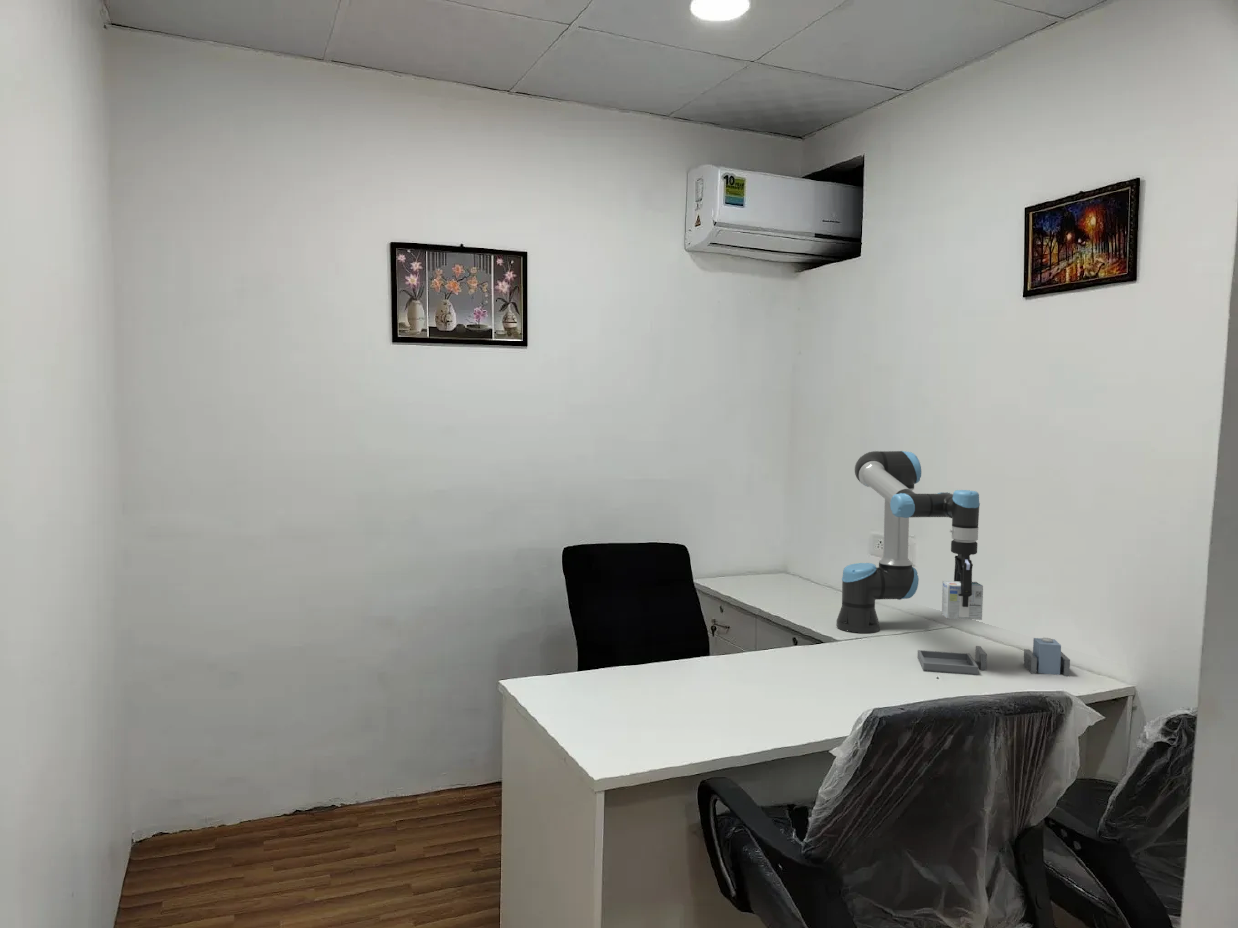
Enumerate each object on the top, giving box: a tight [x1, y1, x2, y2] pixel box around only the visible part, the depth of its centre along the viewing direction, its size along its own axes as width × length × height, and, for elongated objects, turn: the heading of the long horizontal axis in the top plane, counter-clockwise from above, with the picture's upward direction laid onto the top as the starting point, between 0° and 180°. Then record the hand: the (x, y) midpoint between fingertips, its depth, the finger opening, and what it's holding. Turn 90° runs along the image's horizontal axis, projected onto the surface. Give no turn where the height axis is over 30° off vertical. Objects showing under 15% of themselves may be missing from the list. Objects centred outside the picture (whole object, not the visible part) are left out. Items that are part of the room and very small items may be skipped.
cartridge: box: [1032, 637, 1062, 675], centre depth 258 cm, size 7×6×10 cm
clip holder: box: [974, 645, 1071, 677], centre depth 259 cm, size 9×25×5 cm, turn 77°
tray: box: [916, 649, 979, 676], centre depth 261 cm, size 15×16×2 cm
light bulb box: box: [941, 580, 984, 621], centre depth 260 cm, size 11×7×11 cm, turn 86°
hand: (961, 613), depth 261 cm, fingers closed on light bulb box, 7 cm apart
